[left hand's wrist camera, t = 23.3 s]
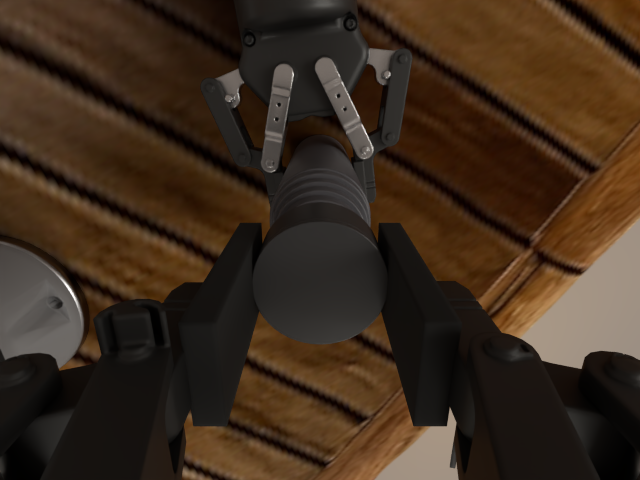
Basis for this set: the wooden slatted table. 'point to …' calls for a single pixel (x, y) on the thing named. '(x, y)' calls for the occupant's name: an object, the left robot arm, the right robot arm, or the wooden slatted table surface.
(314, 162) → the bottle
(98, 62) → the wooden slatted table surface
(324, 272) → the cap
